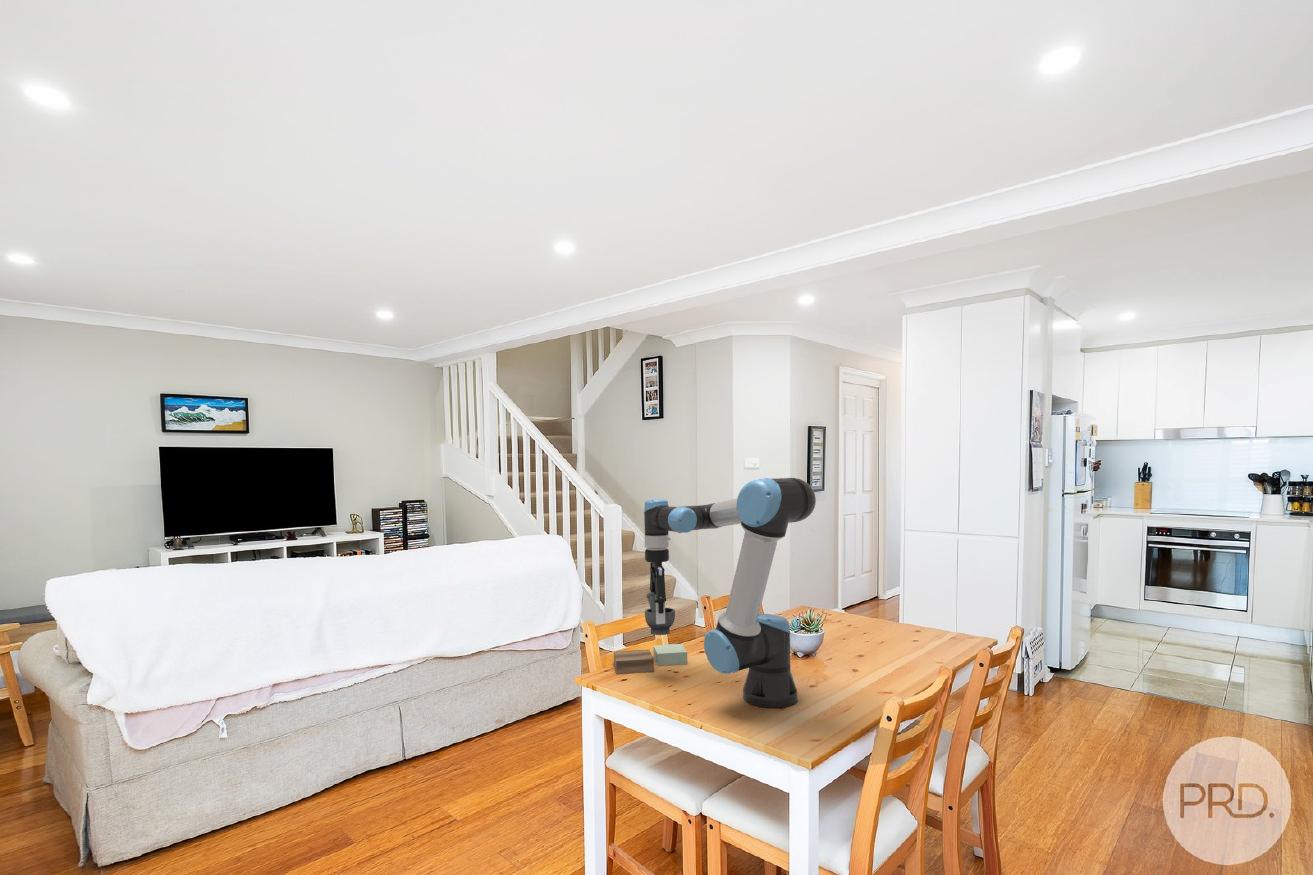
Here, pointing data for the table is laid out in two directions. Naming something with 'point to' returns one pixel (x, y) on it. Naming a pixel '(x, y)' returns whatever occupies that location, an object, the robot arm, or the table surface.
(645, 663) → the walnut plinth
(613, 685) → the table surface
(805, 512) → the robot arm
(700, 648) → the table surface
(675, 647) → the green plinth
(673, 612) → the mortar and pestle
